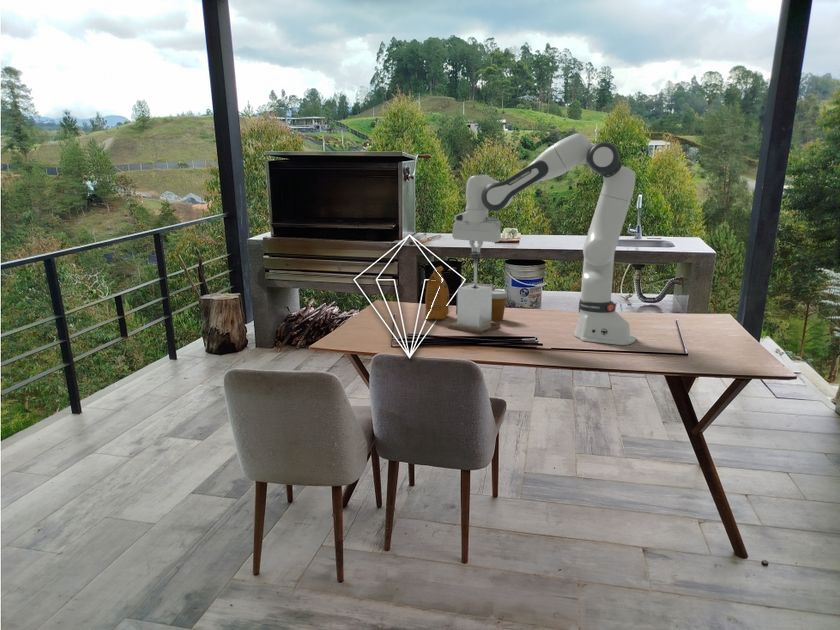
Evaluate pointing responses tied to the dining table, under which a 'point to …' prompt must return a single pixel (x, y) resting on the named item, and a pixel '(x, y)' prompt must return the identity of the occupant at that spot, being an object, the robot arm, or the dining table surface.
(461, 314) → the block
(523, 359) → the dining table surface
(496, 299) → the disposable coffee cup
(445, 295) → the coffee package
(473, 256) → the plunger
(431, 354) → the dining table surface
